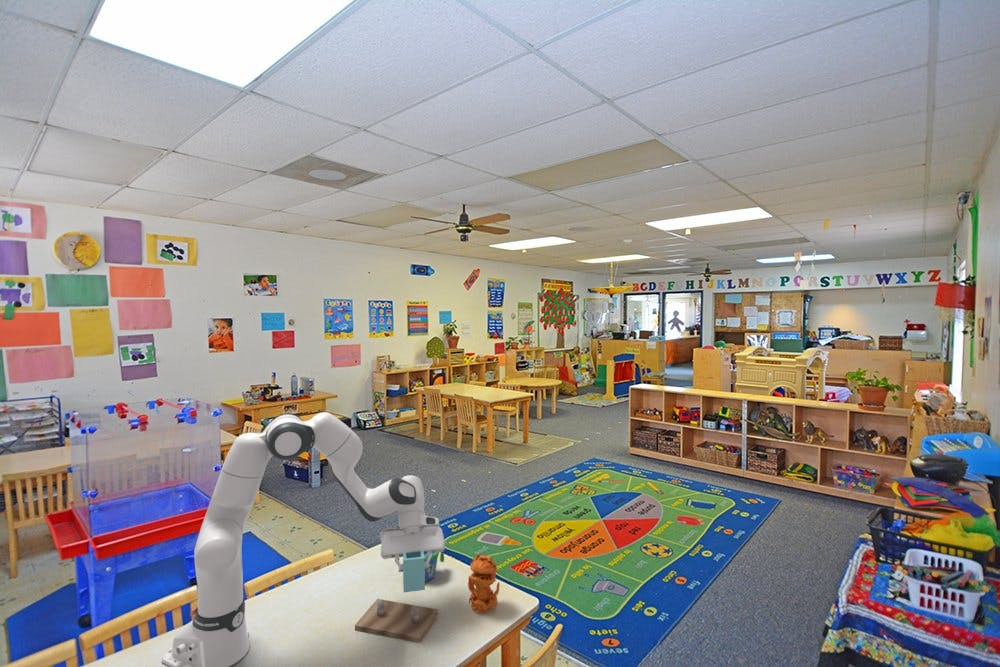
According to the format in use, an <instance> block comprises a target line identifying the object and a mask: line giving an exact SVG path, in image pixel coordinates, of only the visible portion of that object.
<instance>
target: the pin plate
mask: <svg viewBox="0 0 1000 667" xmlns="http://www.w3.org/2000/svg"><path fill="white" fill-rule="evenodd" d="M438 615H439V609H438V608H432V607H426V606H422V605H415V604H409V603H404V602H399V601H393V600H387V599H382V598H377V599H376V600H375V601H374V602H373V603H372V605H371V606H370V607H369V608H368V609H367V610H366V612H365V613H364V614H363V615H362V616H361V618H360V619H358V621H357V622H356V623H355V624H354V630H355V631H358V632H362V633H363V632H364V633H367V634H368V633H369V634H373V635H374V634H375V635H379V636H382V637H383V636H384V637H390V638H393V639H399V640H404V641H408V642H412V643H413V642H414V643H420V644H422V642H423V640H424V638H425V637H426V636H427V634H428V633H429V632H428V631H429V630H430V628H431V627H432V625H433V624H434V622H435V620H436V618H437V617H438Z"/></svg>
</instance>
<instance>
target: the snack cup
mask: <svg viewBox="0 0 1000 667" xmlns="http://www.w3.org/2000/svg"><path fill="white" fill-rule="evenodd" d="M438 557H439V561H440V562H441V563H444V561H445V554H444V551H443V552H439V553H432V556H431V559H430V561H429V568H427V569H425V582H428V581H431V580H432V579H434V578H435V576H436V572H437V571H436V570H437V565H438ZM424 559H425V561H427V559H428V557H427V554H424Z"/></svg>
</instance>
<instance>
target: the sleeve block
mask: <svg viewBox="0 0 1000 667" xmlns="http://www.w3.org/2000/svg"><path fill="white" fill-rule="evenodd" d="M402 564H403V573H402V576H403V577H402V579H403V580H402V582H403V586H402V588H403V593H410V592H411V593H412V592H418V591H426V583H425V559H424V550H422V551H420V552H416V553H407V554H406V552H405V553H403V557H402Z"/></svg>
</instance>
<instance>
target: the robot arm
mask: <svg viewBox="0 0 1000 667" xmlns="http://www.w3.org/2000/svg"><path fill="white" fill-rule="evenodd" d="M313 448H314V449H315V450H317V452H319V453H320V454H321V455H322V456H323V457H324V458H325V459H326V460H327V461H328V462H329V465H330V466H331V467H330V471H331V473H332V476H333V477H334V479H335V480H336V482H337V483H338V484H339V486H340V487H341V489H342V490H344V492H345V493H346V494H347V495H348V497H350V499H351V500H352V501H353V503H354V504H355V506H356V507H357V508H358V510H359V512H360V514H361V516H362V517H363V518H364V519H365V520H367V521H370V522H374V523H375V522H378V521H380V520H381V519H383V518H384V517H386V516H387V515H390V514H392V513H394V512H398V513H399V514H398V526H391V527H385V528H384V529H382V530H381V531H380V533H379V540H380V542H381V544H380V545H381V546H380V557H381V558H382V559H383V560H385V559H394V562H395V564H396V565H397V567H398V573H400V572H403V563H401V562H400V558H403V553H405V552H406V554H407V553H416V552H420V551H422V550H424V554H427V557H428V559H427V561H425V569H427V568H429V561H430V559H431V556H432V553H439V554H440V553H441V552H443V553H444V551H445V548H446V544H445V543H446V542H445V537H444V533H443V529H442V528H441V527H440V520H439V518H438V517H433V516H430V515H426V511H425V502H426V500H425V492H424V491H425V490H424V485H423V482H422V480H421V478H420V477H418V476H417V475H416V476H415V475H413V474H411V475H410V474H409V475H405V476H403V477H401V478H400V477H394V478H392V479H389V480H387V481H386V482H383V483H382V484H380V485H378V486H376V487H374V488H370V487H367V486H366V484H365V483H364V482H363V481H362V479H361V478H360V477H359V476H358V475H357V473H356V471H355V467H356V465H357V464H358V462H359V460H360V459H361V456H362V454H363V441H362V440H361V438H360V437H359V436H358V435H357V434H356V433H355V431H353V430H352V429H351V427H349V426H348V425H347V424H346V423H344V422H343V421H342V420H340V418H338V417H336V416H335V415H333V414H331V413H330V412H326V411H324V412H319V413H317V414H315V415H314V416H312V417H311V418H310V419H309V420H305V421H304V420H303V419H302V418H301V417H300V416H299V415H297V414H295V413H291V412H285V413H281V414H279V415H276V416H275V417H273V419H271V420H270V421H269V422H268V423H267V424H266V425H265V426H264V427H263V428H261V429H260V433H259V432H246V433H242V434H240V435H239V436H237V437H236V438H235V440H234V441H233V443H232V445H231V446H230V449H229V451H228V452H227V455H226V457H225V459H224V461H223V463H222V467H221V468H220V472H219V476H218V477H217V478H218V479H217V481H216V485H215V487H214V490H213V493H212V494H211V495H212V496H211V499H210V502H209V504H208V507H207V510H206V513H205V516H204V518H203V520H202V523H201V526H200V530H199V533H198V536H197V539H196V542H195V546H194V550H193V553H194V554H193V556H194V568H195V578H196V584H197V607H196V608H194V609H193V610H192V611H191V612H189V614H190V615H189V617H193V619H192V620H191V621H189V622H188V623H187V624H185V626H183V627H182V628H181V629H179V631H178V632H177V633H176V634H175V636H174V637H173V641H172V646H171V647H170V648H168V649H167V650H166V652H165V653H164V654H163V656H162V658H161V662H162V664H165V665H167V666H168V667H231V666H232V665H234V664H236V663H239V661H240V660H241V659H243V658H244V657H245V656H246V655H247V654H248V652H249V651H250V647H251V642H250V638H249V634H250V632H249V629H248V628H247V621H246V620H247V619H246V599H245V597H244V576H243V575H244V574H243V573H244V572H243V555H242V554H243V552H242V551H243V550H242V548H243V547H242V546H243V545H242V544H243V534H244V530H245V527H246V523H247V520H248V517H249V515H250V512H251V510H252V508H253V506H254V504H255V501H256V499H257V496H258V492H259V490H260V487H261V483H262V481H263V477H264V475H265V471H266V468H267V466H268V463H269V461H270V460H271V459H272V457H273V456H274V457H275V458H276V459H279V460H286V461H289V460H292V459H295V458H297V457H299V456H300V455H302V454H304V453H306V452H308V451H309V450H311V449H313ZM193 615H194V616H193Z"/></svg>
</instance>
